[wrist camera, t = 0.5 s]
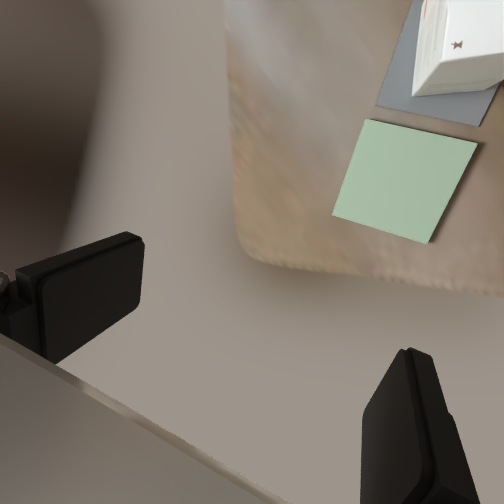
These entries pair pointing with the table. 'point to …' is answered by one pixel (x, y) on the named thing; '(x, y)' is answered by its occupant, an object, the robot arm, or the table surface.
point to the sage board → (401, 179)
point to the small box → (459, 46)
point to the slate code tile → (437, 106)
